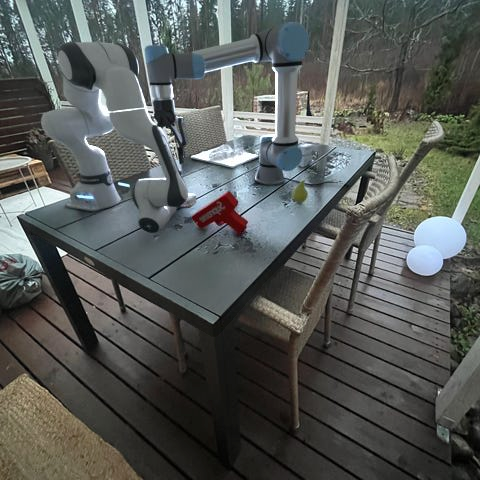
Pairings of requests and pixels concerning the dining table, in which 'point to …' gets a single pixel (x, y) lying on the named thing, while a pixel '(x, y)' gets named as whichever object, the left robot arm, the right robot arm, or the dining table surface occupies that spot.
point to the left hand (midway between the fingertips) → (176, 191)
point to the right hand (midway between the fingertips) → (171, 162)
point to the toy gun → (221, 214)
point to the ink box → (306, 154)
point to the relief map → (225, 156)
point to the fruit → (300, 192)
